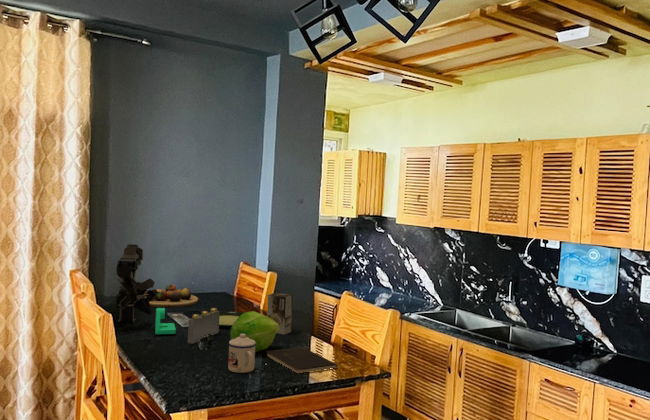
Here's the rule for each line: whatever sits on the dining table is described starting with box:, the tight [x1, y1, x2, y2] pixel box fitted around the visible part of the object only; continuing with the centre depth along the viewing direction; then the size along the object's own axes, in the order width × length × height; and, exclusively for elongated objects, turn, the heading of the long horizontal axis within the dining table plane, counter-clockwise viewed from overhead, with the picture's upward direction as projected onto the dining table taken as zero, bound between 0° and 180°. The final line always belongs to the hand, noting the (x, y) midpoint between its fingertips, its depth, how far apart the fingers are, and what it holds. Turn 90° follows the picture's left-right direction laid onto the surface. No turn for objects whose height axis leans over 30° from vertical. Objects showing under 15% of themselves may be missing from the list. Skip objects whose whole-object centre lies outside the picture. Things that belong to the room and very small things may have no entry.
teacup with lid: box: [227, 334, 256, 374], centre depth 182 cm, size 12×9×12 cm
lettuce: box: [229, 310, 280, 353], centre depth 207 cm, size 15×20×14 cm
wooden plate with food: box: [144, 283, 199, 309], centre depth 289 cm, size 32×32×8 cm
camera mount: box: [154, 307, 177, 335], centre depth 226 cm, size 12×8×10 cm, turn 19°
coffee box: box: [266, 292, 294, 335], centre depth 237 cm, size 9×6×16 cm
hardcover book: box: [265, 346, 338, 374], centre depth 195 cm, size 16×23×2 cm
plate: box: [199, 310, 245, 328], centre depth 250 cm, size 28×28×2 cm
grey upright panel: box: [187, 307, 221, 344], centre depth 221 cm, size 20×2×10 cm, turn 162°
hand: (151, 314), depth 228 cm, fingers closed
